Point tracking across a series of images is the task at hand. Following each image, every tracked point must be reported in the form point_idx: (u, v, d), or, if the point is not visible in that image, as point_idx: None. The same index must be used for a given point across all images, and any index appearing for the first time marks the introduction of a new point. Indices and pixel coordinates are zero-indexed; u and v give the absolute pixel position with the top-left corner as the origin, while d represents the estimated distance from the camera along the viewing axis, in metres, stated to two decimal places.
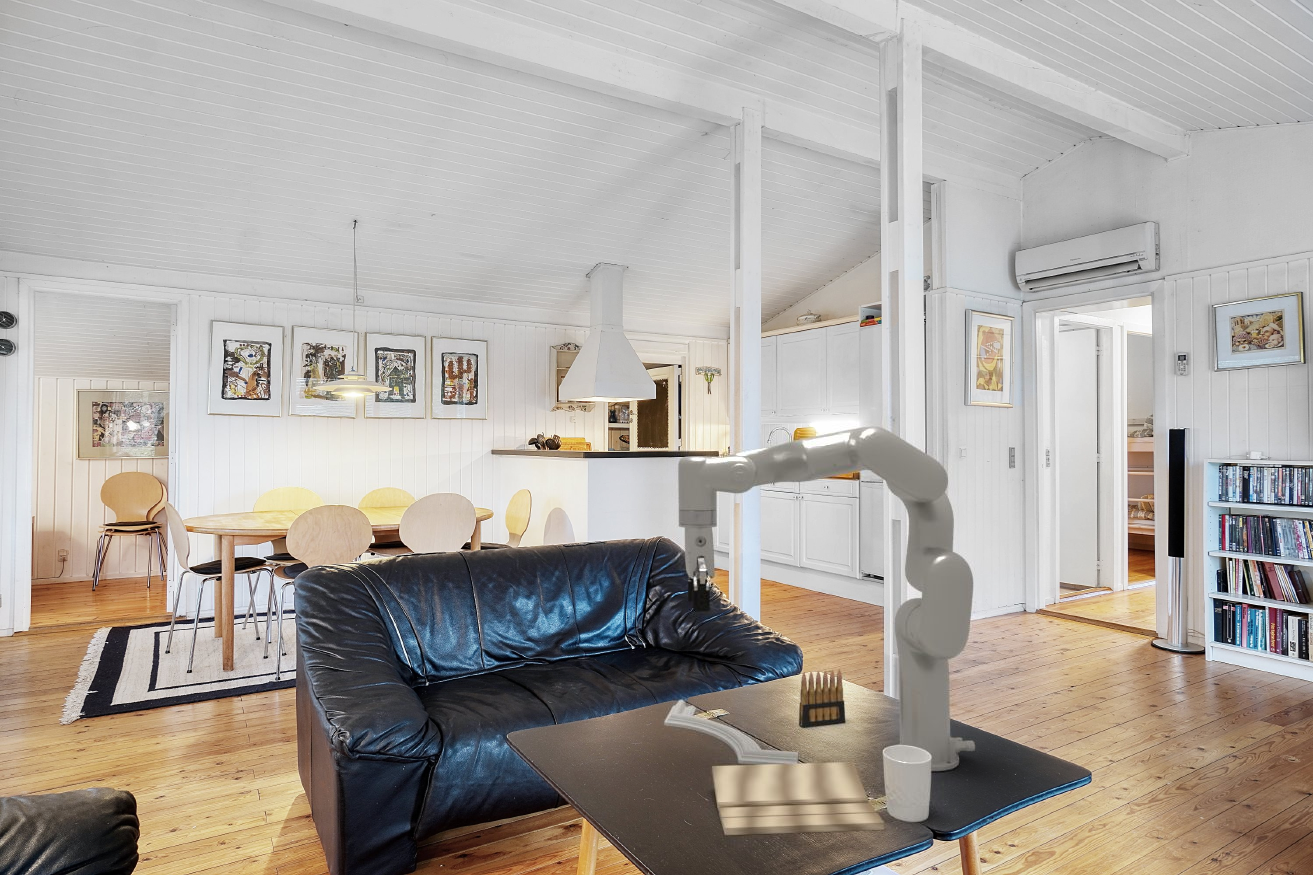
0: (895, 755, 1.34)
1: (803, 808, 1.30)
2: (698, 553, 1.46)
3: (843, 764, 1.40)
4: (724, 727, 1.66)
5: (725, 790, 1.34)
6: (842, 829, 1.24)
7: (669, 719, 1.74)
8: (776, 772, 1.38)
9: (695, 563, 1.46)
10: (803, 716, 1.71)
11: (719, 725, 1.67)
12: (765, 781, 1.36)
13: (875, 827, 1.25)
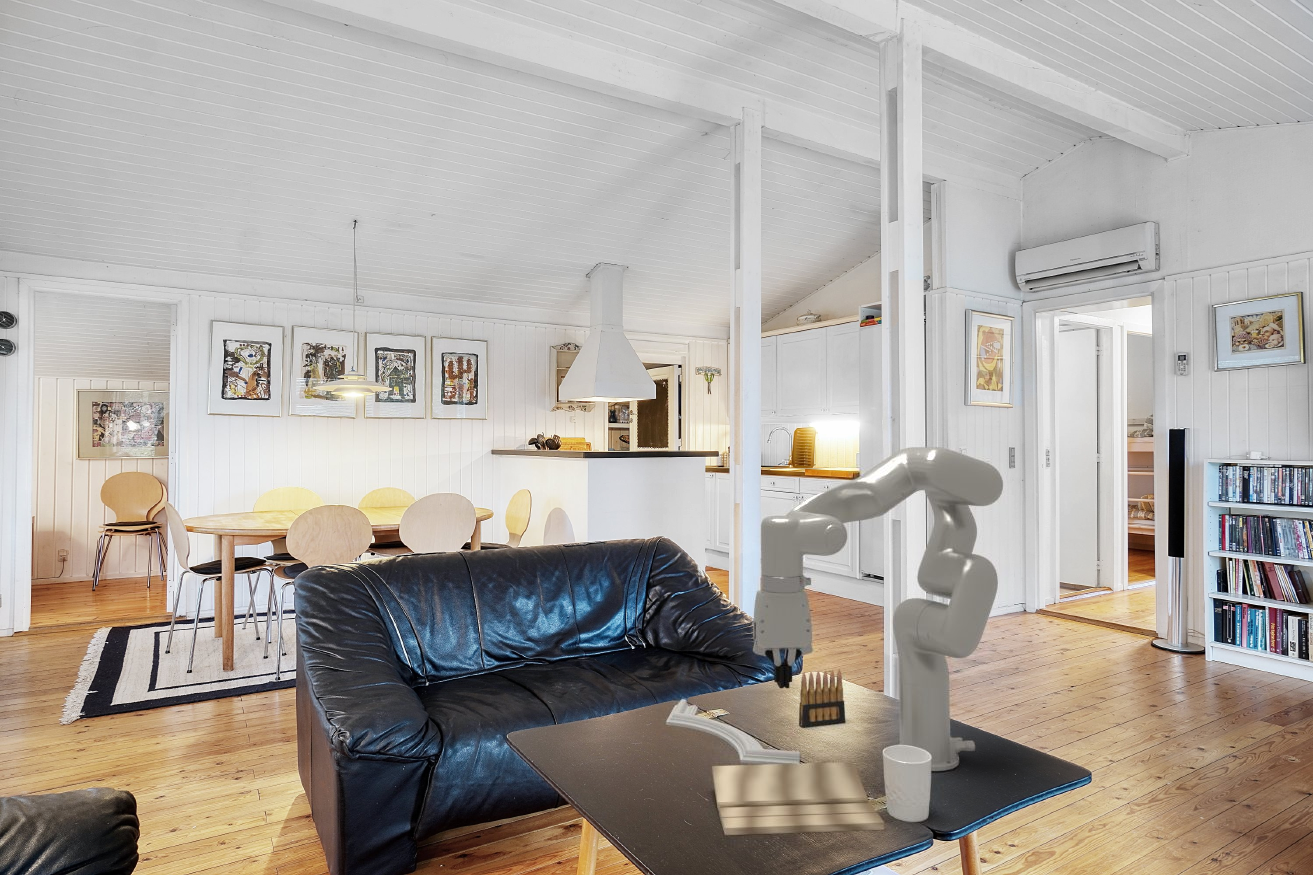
0: (895, 755, 1.34)
1: (803, 808, 1.30)
2: None
3: (843, 764, 1.40)
4: (726, 726, 1.66)
5: (725, 790, 1.34)
6: (842, 829, 1.24)
7: (671, 718, 1.74)
8: (776, 772, 1.38)
9: None
10: (803, 716, 1.71)
11: (721, 724, 1.67)
12: (765, 781, 1.36)
13: (875, 827, 1.25)
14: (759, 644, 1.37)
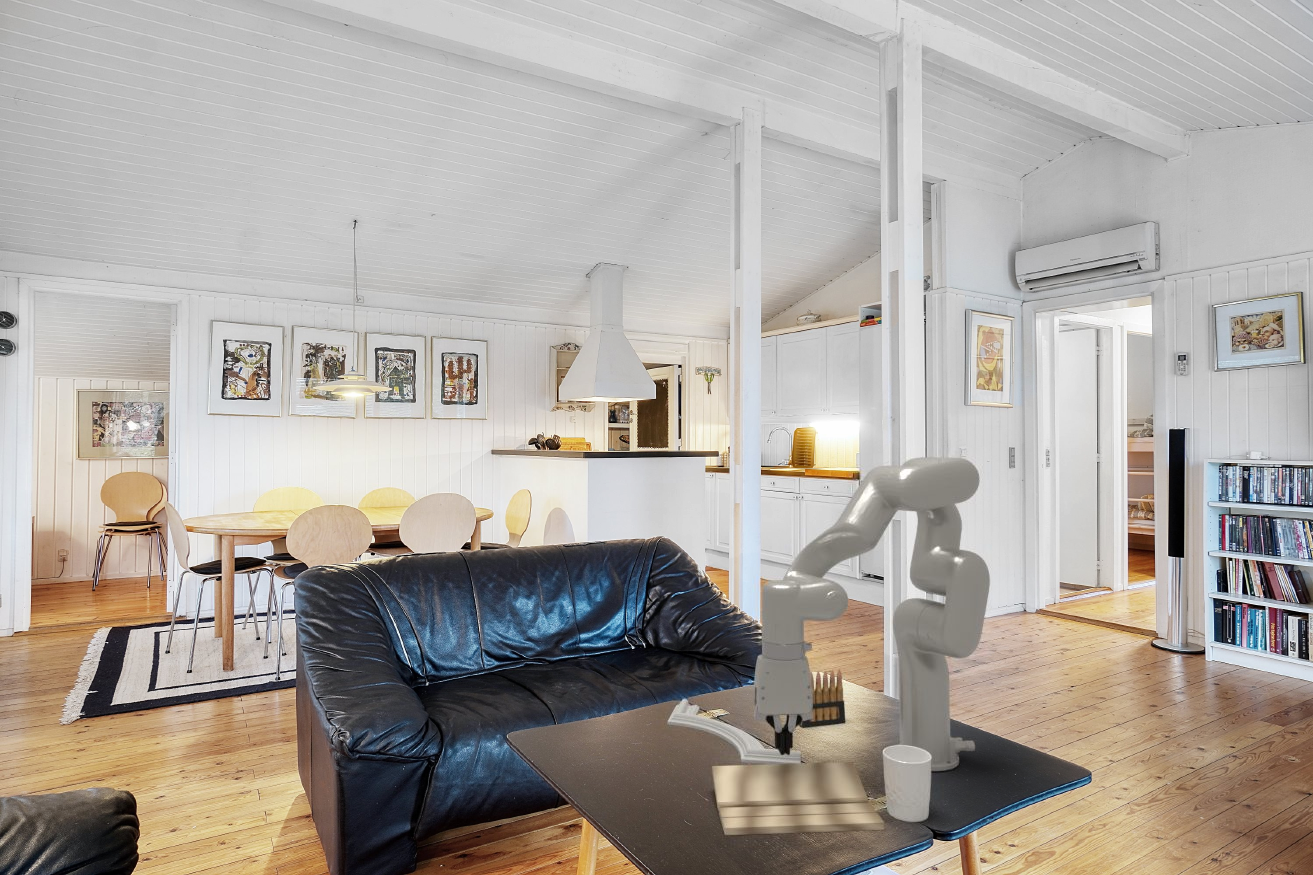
0: (896, 755, 1.34)
1: (803, 808, 1.30)
2: None
3: (843, 764, 1.40)
4: (727, 726, 1.66)
5: (725, 790, 1.34)
6: (842, 829, 1.24)
7: (672, 718, 1.74)
8: (776, 772, 1.38)
9: None
10: None
11: (722, 724, 1.68)
12: (765, 781, 1.36)
13: (875, 827, 1.25)
14: (760, 711, 1.37)
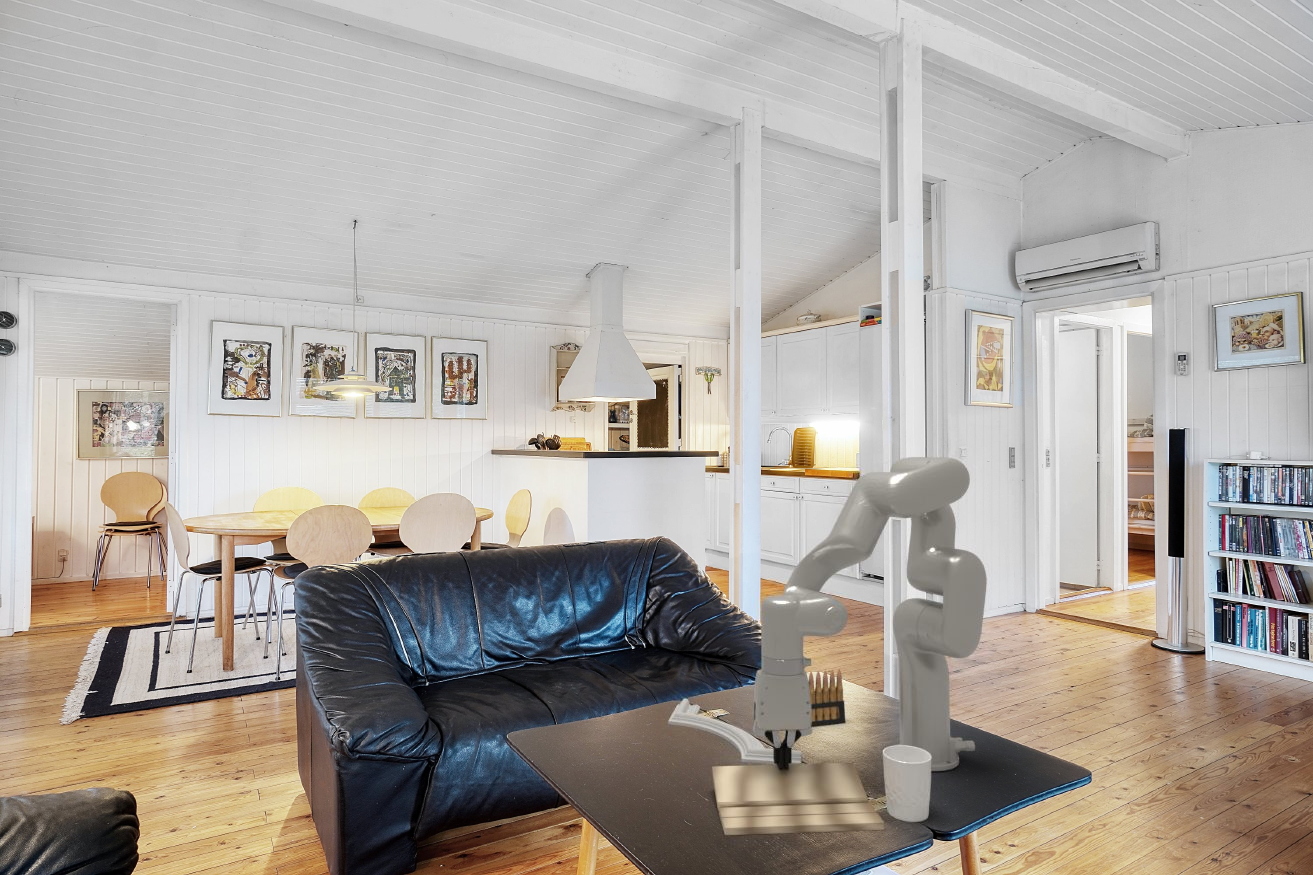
0: (895, 755, 1.34)
1: (803, 808, 1.30)
2: None
3: (843, 764, 1.40)
4: (728, 726, 1.66)
5: (725, 790, 1.34)
6: (842, 829, 1.24)
7: (673, 718, 1.75)
8: (776, 772, 1.38)
9: None
10: None
11: (723, 724, 1.68)
12: (765, 781, 1.36)
13: (875, 827, 1.25)
14: (759, 726, 1.37)
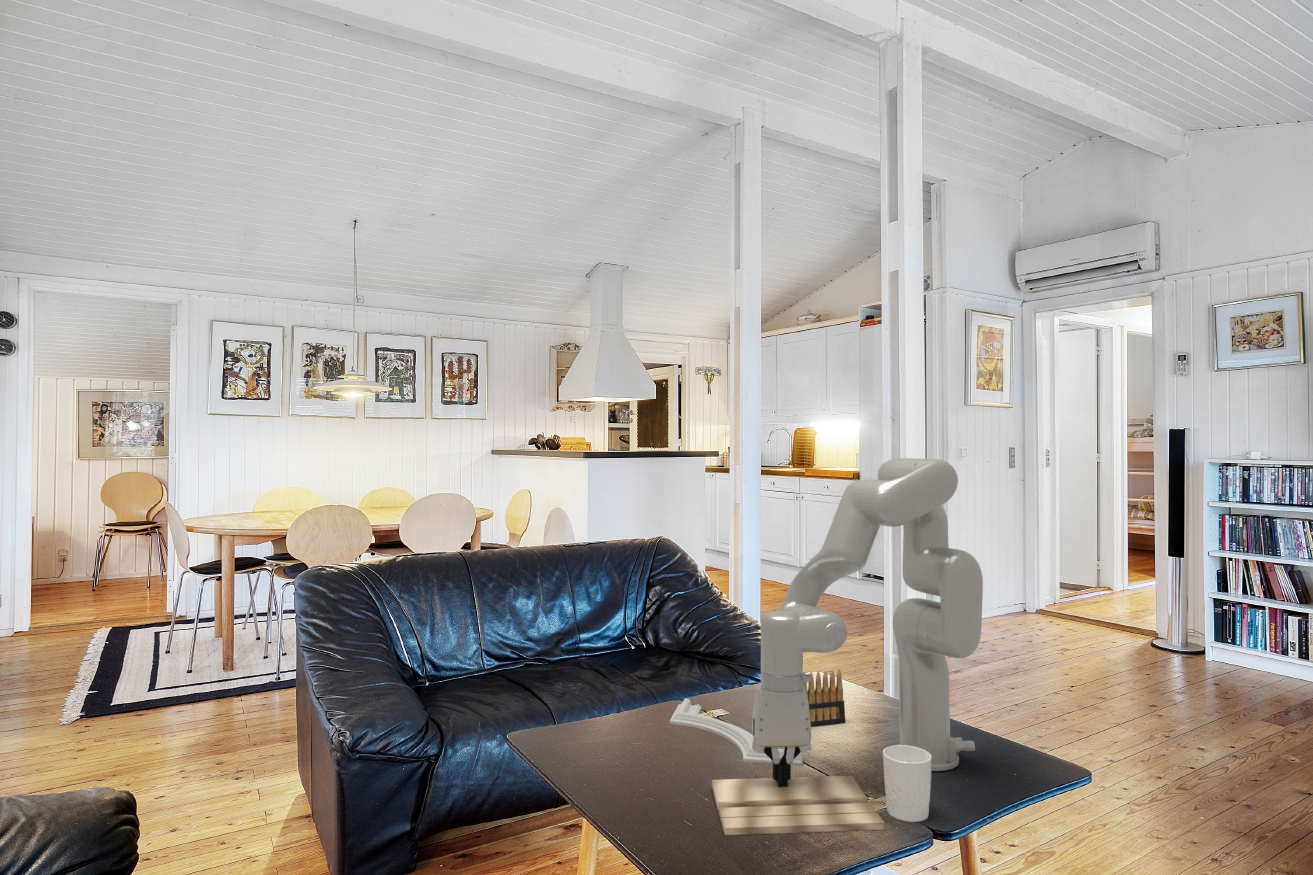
0: (895, 755, 1.34)
1: (803, 808, 1.30)
2: None
3: (842, 777, 1.41)
4: (729, 726, 1.67)
5: (724, 794, 1.35)
6: (842, 829, 1.24)
7: (675, 718, 1.75)
8: (775, 782, 1.39)
9: None
10: None
11: (724, 724, 1.68)
12: (764, 788, 1.37)
13: (875, 827, 1.25)
14: (758, 742, 1.37)
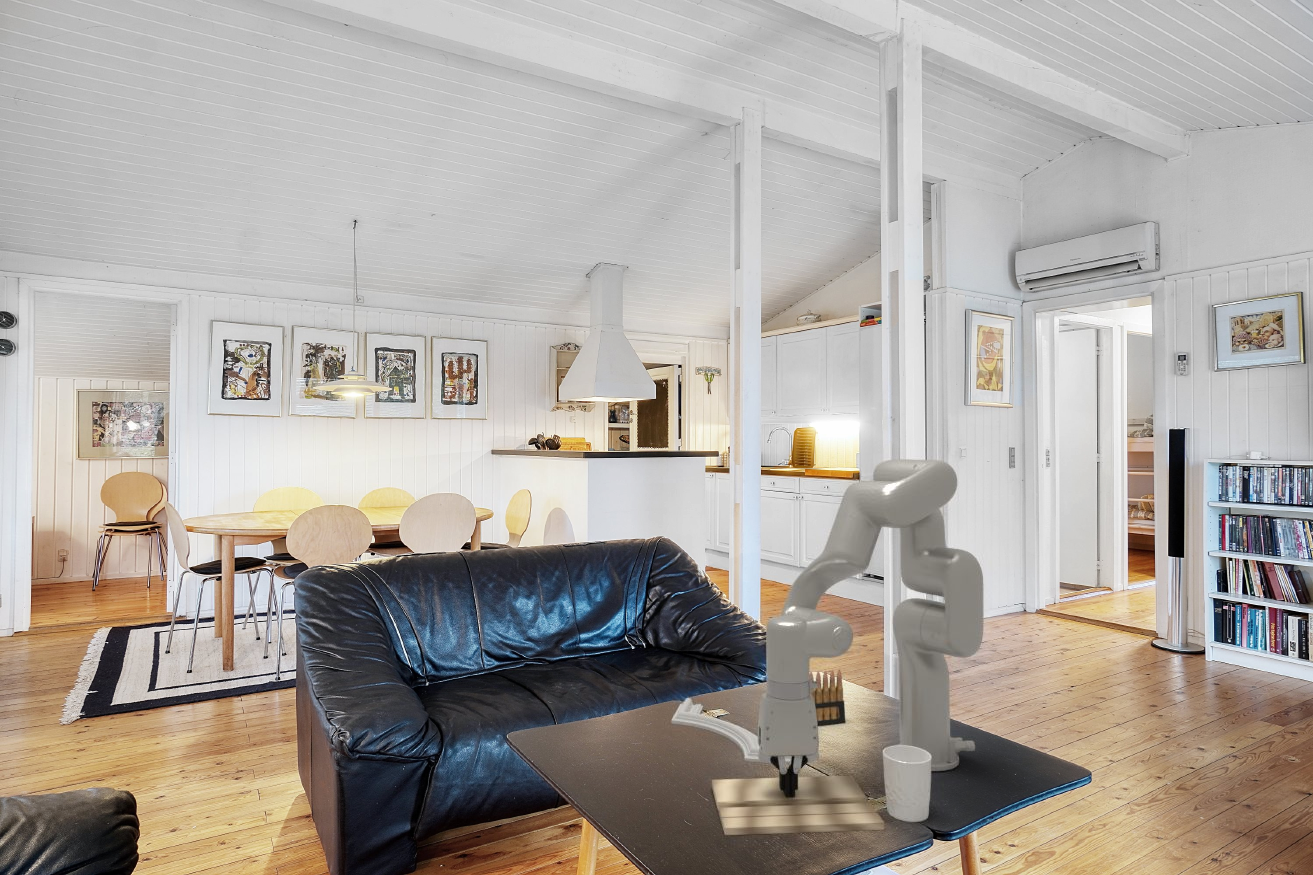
0: (895, 755, 1.34)
1: (803, 808, 1.30)
2: None
3: (842, 777, 1.41)
4: (731, 725, 1.67)
5: (724, 794, 1.35)
6: (842, 829, 1.24)
7: (676, 717, 1.75)
8: (775, 783, 1.39)
9: None
10: None
11: (726, 723, 1.68)
12: (764, 788, 1.37)
13: (875, 827, 1.25)
14: (764, 752, 1.33)
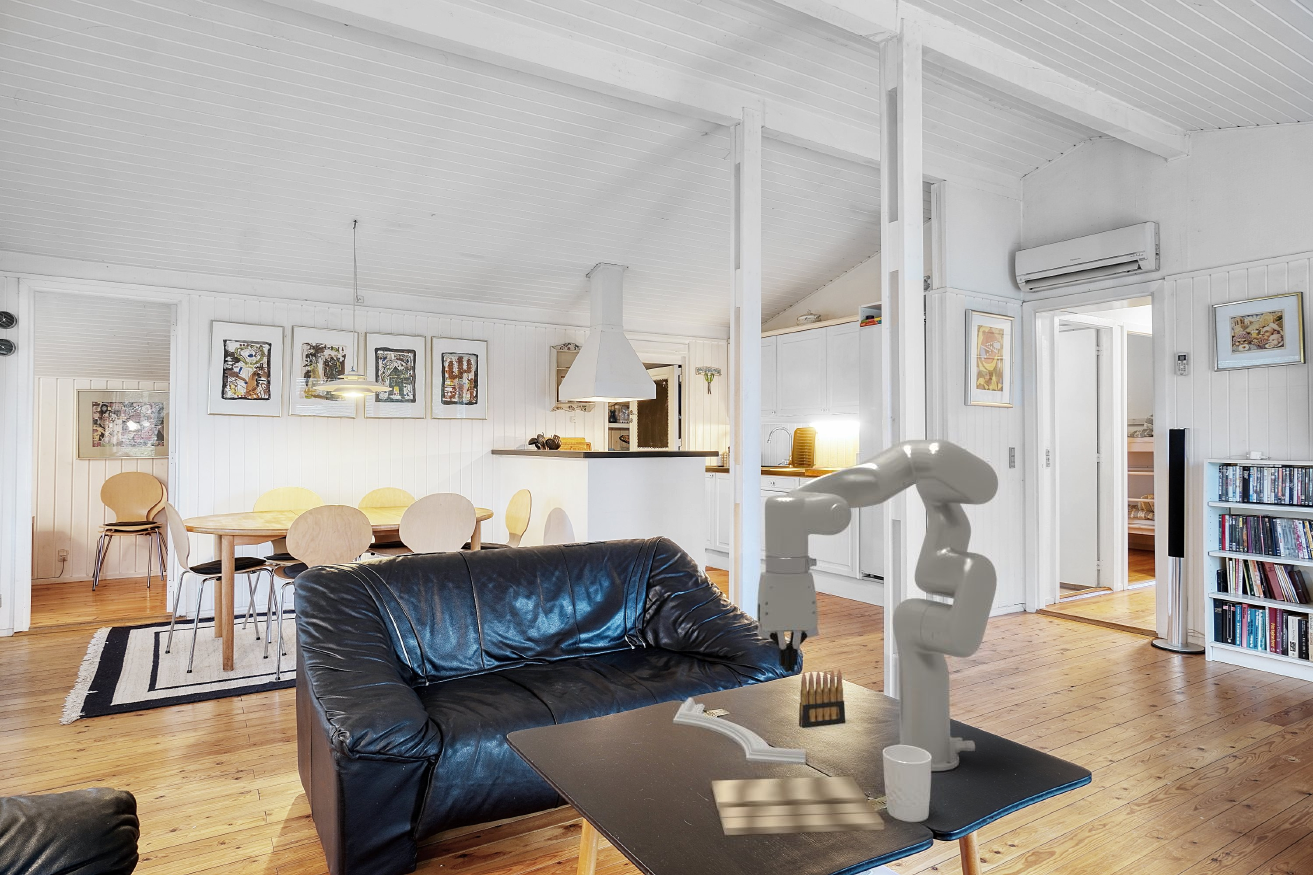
0: (895, 755, 1.34)
1: (803, 808, 1.30)
2: None
3: (842, 778, 1.41)
4: (733, 725, 1.67)
5: (724, 795, 1.35)
6: (842, 829, 1.24)
7: (678, 717, 1.75)
8: (775, 783, 1.39)
9: None
10: (803, 716, 1.71)
11: (728, 723, 1.68)
12: (764, 788, 1.37)
13: (875, 827, 1.25)
14: (763, 627, 1.33)
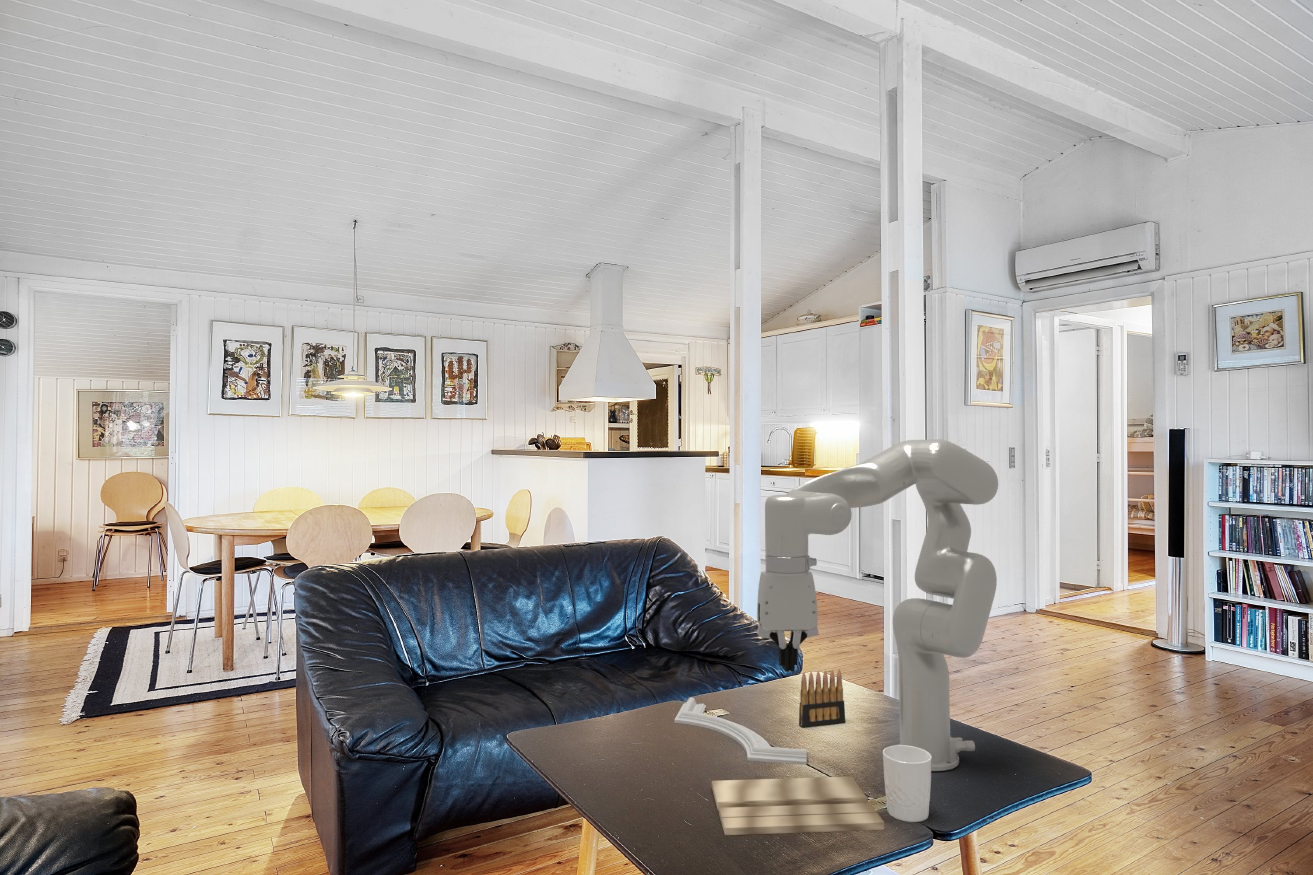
0: (895, 755, 1.34)
1: (803, 808, 1.30)
2: None
3: (842, 778, 1.41)
4: (734, 725, 1.67)
5: (724, 795, 1.35)
6: (842, 829, 1.24)
7: (679, 716, 1.75)
8: (775, 783, 1.39)
9: None
10: (803, 716, 1.71)
11: (729, 723, 1.69)
12: (764, 788, 1.37)
13: (875, 827, 1.25)
14: (763, 626, 1.33)
